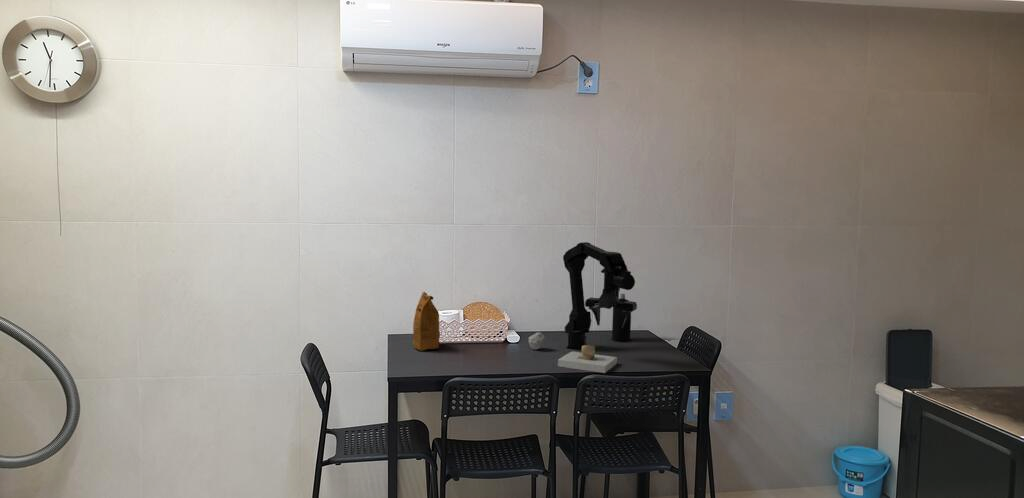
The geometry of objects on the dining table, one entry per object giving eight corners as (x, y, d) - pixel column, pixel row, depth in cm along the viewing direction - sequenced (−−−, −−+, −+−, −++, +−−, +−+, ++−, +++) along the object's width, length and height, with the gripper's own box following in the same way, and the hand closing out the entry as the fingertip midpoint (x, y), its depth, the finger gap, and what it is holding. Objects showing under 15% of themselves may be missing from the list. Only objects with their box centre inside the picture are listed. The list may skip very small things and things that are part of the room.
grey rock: (542, 352, 283) (542, 334, 282) (525, 350, 285) (525, 333, 285) (546, 348, 289) (547, 331, 288) (530, 347, 291) (530, 330, 290)
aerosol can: (618, 343, 300) (620, 296, 298) (607, 338, 308) (608, 292, 306) (634, 341, 304) (636, 294, 302) (623, 337, 312) (624, 291, 309)
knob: (597, 363, 266) (598, 346, 265) (593, 366, 262) (593, 349, 261) (582, 361, 269) (582, 344, 268) (577, 364, 264) (578, 347, 264)
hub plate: (557, 366, 263) (558, 359, 263) (571, 357, 275) (571, 351, 275) (604, 372, 255) (605, 366, 255) (616, 363, 268) (616, 357, 267)
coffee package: (434, 343, 295) (434, 290, 292) (441, 350, 283) (441, 295, 281) (410, 344, 292) (410, 291, 289) (416, 352, 280) (416, 296, 277)
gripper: (580, 286, 266) (579, 327, 268) (629, 291, 258) (627, 333, 260) (590, 282, 276) (589, 322, 278) (637, 287, 268) (636, 328, 270)
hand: (610, 326), depth 271 cm, fingers open, 9 cm apart
